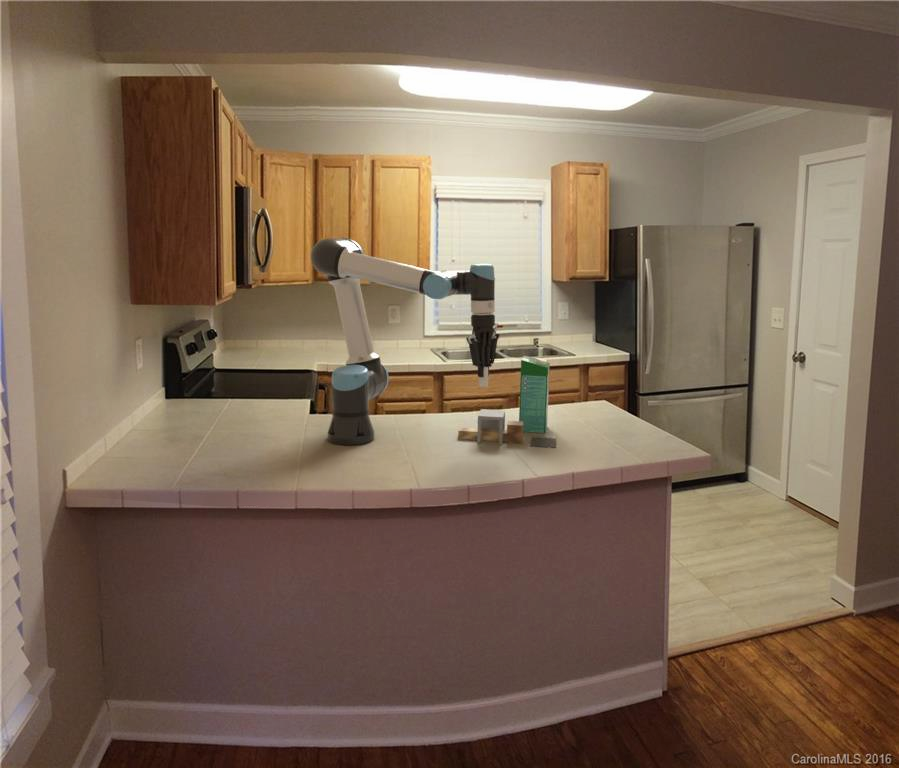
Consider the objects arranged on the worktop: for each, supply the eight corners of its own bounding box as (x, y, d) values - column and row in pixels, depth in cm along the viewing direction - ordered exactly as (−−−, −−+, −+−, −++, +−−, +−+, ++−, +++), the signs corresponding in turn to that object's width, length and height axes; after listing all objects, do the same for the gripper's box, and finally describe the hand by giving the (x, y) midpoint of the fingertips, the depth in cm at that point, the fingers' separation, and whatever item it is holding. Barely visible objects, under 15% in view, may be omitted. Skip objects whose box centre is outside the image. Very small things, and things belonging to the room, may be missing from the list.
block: (506, 442, 232) (507, 424, 231) (507, 438, 237) (508, 420, 236) (522, 443, 232) (522, 425, 230) (523, 439, 236) (523, 421, 235)
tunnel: (477, 442, 231) (477, 415, 229) (480, 435, 240) (481, 409, 238) (502, 444, 230) (502, 417, 228) (504, 436, 239) (505, 410, 237)
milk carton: (545, 433, 243) (548, 360, 238) (518, 431, 245) (521, 359, 240) (547, 426, 252) (550, 356, 247) (521, 424, 254) (523, 354, 248)
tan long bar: (458, 439, 236) (458, 430, 235) (459, 436, 240) (460, 427, 239) (506, 442, 234) (507, 433, 233) (507, 438, 237) (508, 430, 237)
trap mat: (530, 446, 228) (530, 445, 228) (531, 437, 238) (531, 437, 238) (555, 447, 227) (555, 447, 227) (556, 439, 237) (556, 438, 237)
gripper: (476, 316, 220) (477, 391, 224) (505, 312, 228) (505, 385, 233) (459, 314, 225) (461, 388, 230) (488, 311, 234) (489, 382, 238)
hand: (483, 386), depth 231 cm, fingers closed
